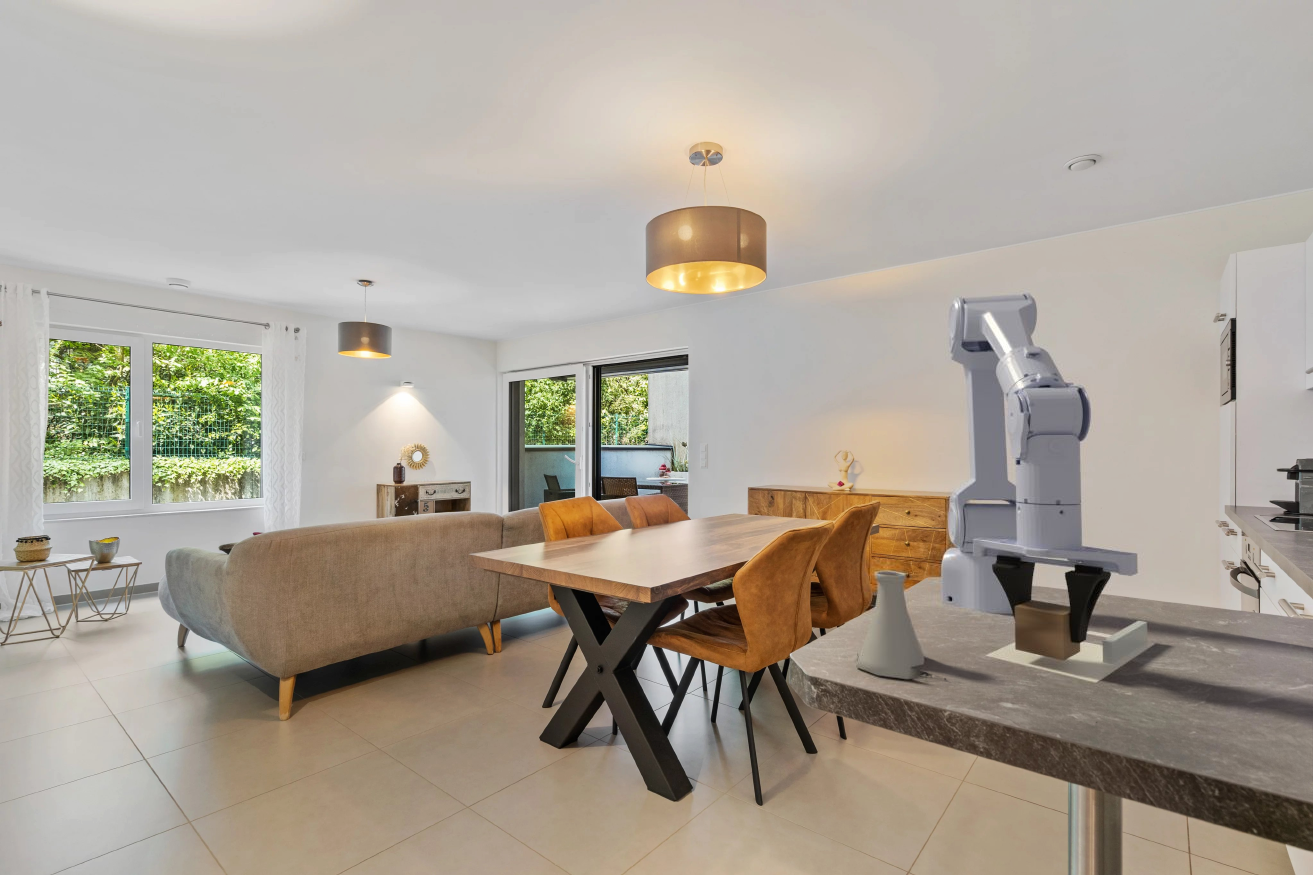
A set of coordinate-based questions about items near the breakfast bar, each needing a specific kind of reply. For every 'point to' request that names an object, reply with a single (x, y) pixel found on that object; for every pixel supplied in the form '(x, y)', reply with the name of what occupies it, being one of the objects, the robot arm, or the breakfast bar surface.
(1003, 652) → the trap channel
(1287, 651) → the breakfast bar surface
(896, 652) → the flask
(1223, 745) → the breakfast bar surface
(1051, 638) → the walnut block
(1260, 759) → the breakfast bar surface
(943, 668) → the breakfast bar surface
